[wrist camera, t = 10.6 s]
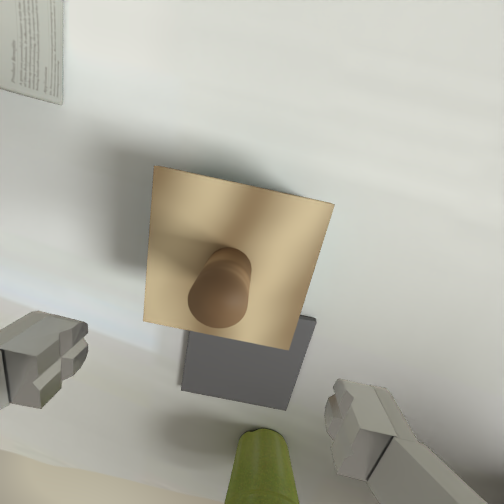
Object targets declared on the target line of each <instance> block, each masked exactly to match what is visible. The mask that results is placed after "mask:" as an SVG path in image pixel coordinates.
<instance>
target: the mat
mask: <svg viewBox="0 0 504 504" xmlns="http://www.w3.org/2000/svg"><path fill="white" fill-rule="evenodd" d="M315 325H316V319H315V318H311V317H306V316H301V315H300V316H299V320H298V323H297V326H296V329H295V332H294V335H293V339H292V342H291V345H290V348H289V350H284V349H279V348H274V347H269V346H264V345H259V344H254V343H249V342H244V341H239V340H234V339H229V338H224V337H219V336H214V335H209V334H204V333H199V332H194V331H190V332H189V339H188V346H187V352H186V359H185V366H184V373H183V380H182V387H181V390H182V391H187V392H192V393H197V394H202V395H207V396H213V397H218V398H223V399H228V400H233V401H238V402H244V403H249V404H254V405H259V406H264V407H269V408H274V409H280V410H285V411H286V409H287V406H288V403H289V400H290V397H291V394H292V392H293V389H294V386H295V383H296V380H297V377H298V374H299V371H300V368H301V365H302V363H303V360H304V357H305V354H306V351H307V348H308V345H309V342H310V339H311V337H312V334H313V331H314V328H315Z"/></svg>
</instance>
